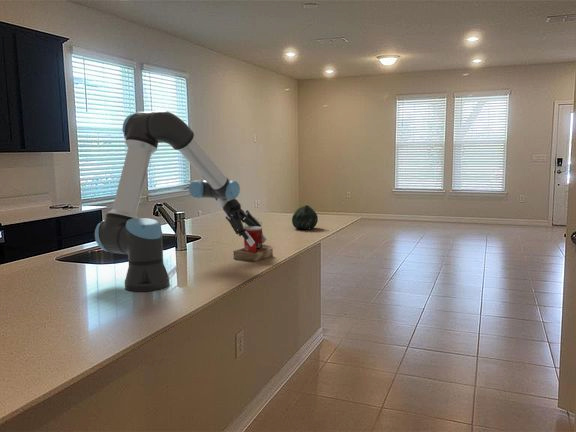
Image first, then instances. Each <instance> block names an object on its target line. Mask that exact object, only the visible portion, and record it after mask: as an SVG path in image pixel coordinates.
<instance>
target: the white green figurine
mask: <svg viewBox="0 0 576 432" xmlns="http://www.w3.org/2000/svg"><path fill="white" fill-rule="evenodd" d="M253 217H254V218H255V220H256V221H257V222H258V223H259V224H260V225H261V227H262V228H263V224H262V221H260V220H259V217H257V216H253ZM244 219H245V218H244ZM244 219H243V220H244ZM241 222H242V221H241ZM242 225H243V228H244V227H248V225H247V224H246V223H245V222H242Z"/></svg>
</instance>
